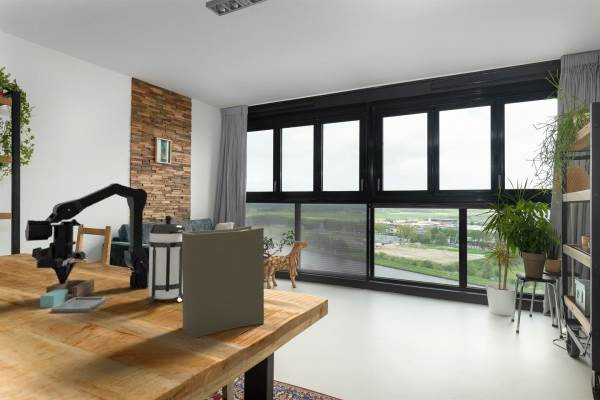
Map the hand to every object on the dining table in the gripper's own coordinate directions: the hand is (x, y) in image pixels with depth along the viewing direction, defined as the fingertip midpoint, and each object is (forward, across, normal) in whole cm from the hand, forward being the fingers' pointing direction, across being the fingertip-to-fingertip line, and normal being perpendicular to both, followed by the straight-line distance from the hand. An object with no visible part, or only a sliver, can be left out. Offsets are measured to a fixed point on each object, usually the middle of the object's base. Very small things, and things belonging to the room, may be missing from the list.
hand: (62, 284), depth 120 cm
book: (+6, +27, +58) cm, 64 cm away
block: (+4, 0, 0) cm, 4 cm away
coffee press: (+6, +1, +36) cm, 37 cm away
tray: (+6, +7, +10) cm, 14 cm away
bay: (+6, -6, 0) cm, 8 cm away
